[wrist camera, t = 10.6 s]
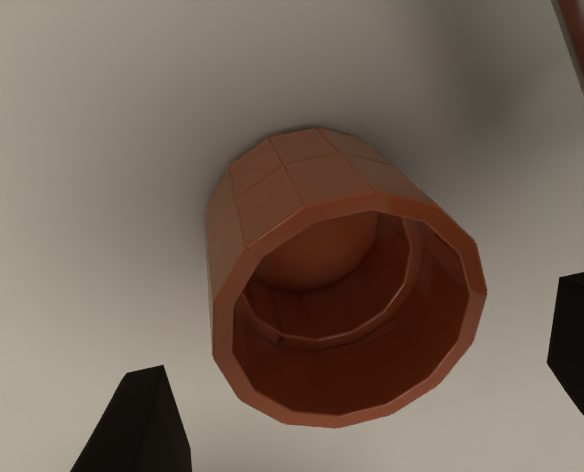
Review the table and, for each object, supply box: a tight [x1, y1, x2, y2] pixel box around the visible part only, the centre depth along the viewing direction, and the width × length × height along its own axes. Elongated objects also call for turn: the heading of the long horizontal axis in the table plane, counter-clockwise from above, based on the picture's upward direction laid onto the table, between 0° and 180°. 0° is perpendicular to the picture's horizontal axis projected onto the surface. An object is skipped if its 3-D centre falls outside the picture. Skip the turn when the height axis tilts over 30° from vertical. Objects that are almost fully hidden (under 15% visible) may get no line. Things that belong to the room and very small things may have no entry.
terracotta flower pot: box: [206, 127, 487, 428], centre depth 12 cm, size 6×6×5 cm
